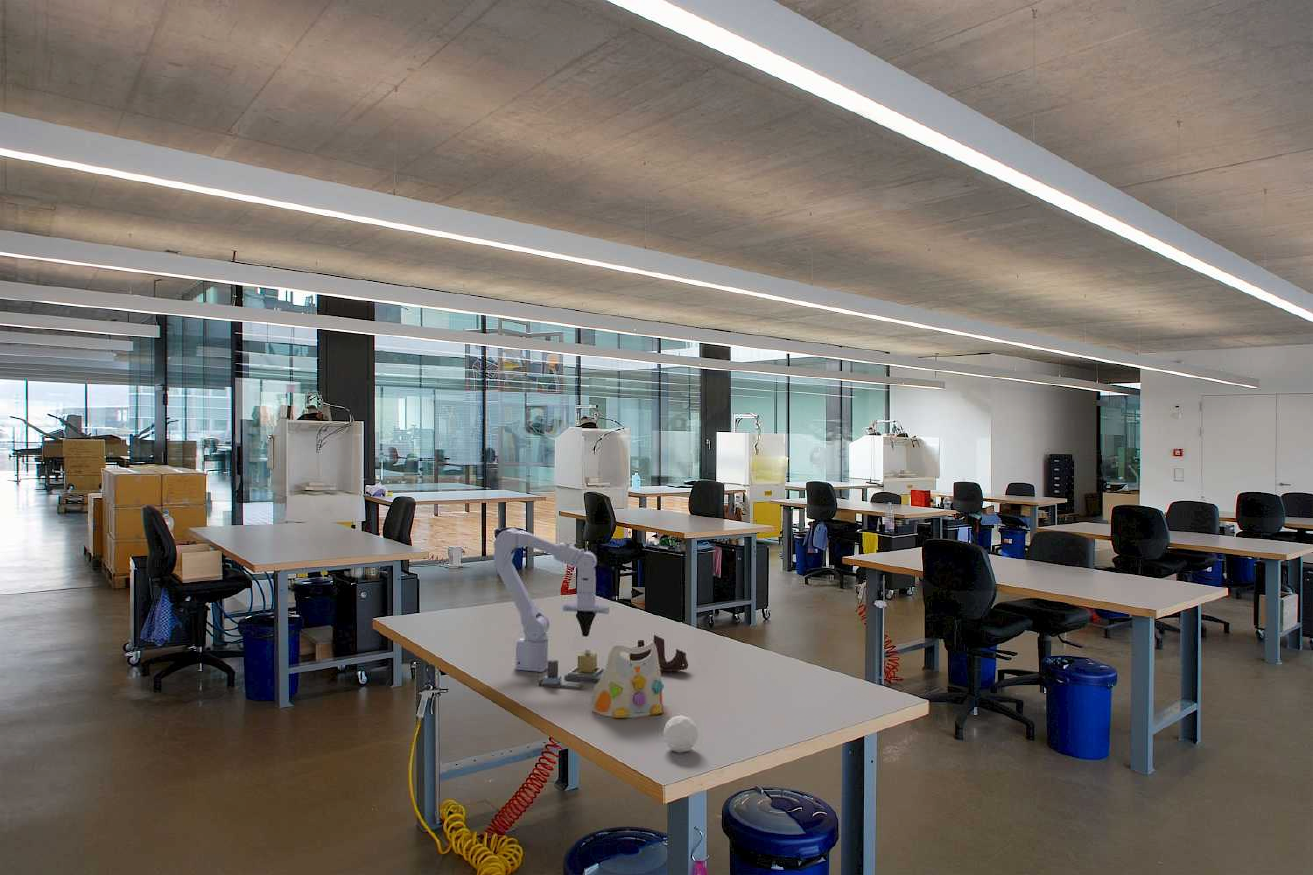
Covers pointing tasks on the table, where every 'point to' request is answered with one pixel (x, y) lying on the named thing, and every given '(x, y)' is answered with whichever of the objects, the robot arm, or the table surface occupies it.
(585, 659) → the housing
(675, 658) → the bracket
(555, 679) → the lever
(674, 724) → the ball
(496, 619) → the table surface
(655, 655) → the shape sorter
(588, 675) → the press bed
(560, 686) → the rail
